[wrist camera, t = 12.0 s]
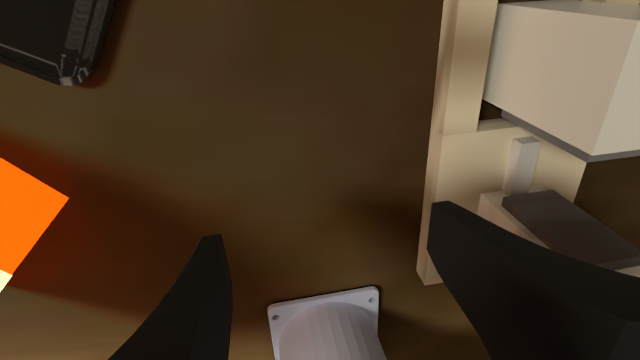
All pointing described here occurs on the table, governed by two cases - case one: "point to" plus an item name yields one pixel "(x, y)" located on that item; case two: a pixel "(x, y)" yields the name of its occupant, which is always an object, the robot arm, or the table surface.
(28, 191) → the orange juice
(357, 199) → the table surface
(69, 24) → the phone
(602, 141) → the off-white rectangular block
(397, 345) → the table surface
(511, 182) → the beige piece
